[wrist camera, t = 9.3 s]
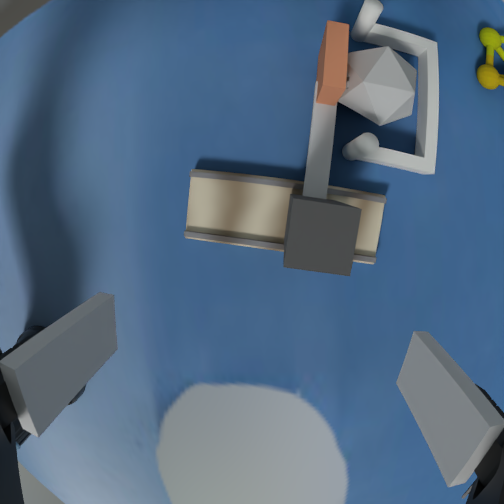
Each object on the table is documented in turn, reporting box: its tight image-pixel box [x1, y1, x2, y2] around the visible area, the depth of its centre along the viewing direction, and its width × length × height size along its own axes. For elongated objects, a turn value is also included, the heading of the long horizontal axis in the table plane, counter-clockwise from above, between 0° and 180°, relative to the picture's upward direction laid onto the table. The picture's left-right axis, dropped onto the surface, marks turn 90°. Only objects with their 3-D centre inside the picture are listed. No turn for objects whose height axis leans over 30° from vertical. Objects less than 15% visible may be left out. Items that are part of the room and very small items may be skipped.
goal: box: [342, 0, 439, 174], centre depth 27 cm, size 10×18×8 cm, turn 173°
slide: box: [184, 169, 387, 264], centre depth 35 cm, size 22×8×2 cm, turn 83°
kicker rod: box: [284, 20, 362, 276], centre depth 27 cm, size 5×22×13 cm, turn 173°
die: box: [338, 46, 417, 126], centre depth 27 cm, size 8×9×10 cm
